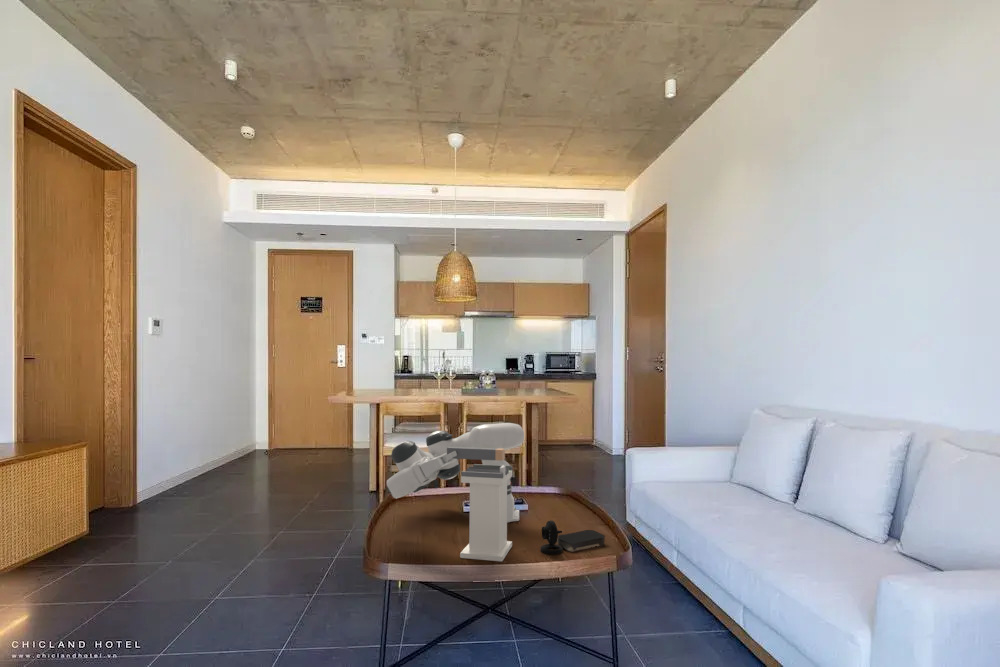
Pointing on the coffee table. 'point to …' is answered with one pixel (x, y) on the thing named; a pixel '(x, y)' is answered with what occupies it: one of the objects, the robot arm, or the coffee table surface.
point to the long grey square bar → (478, 453)
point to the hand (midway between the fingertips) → (458, 451)
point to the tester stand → (487, 512)
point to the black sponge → (581, 540)
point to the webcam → (551, 538)
